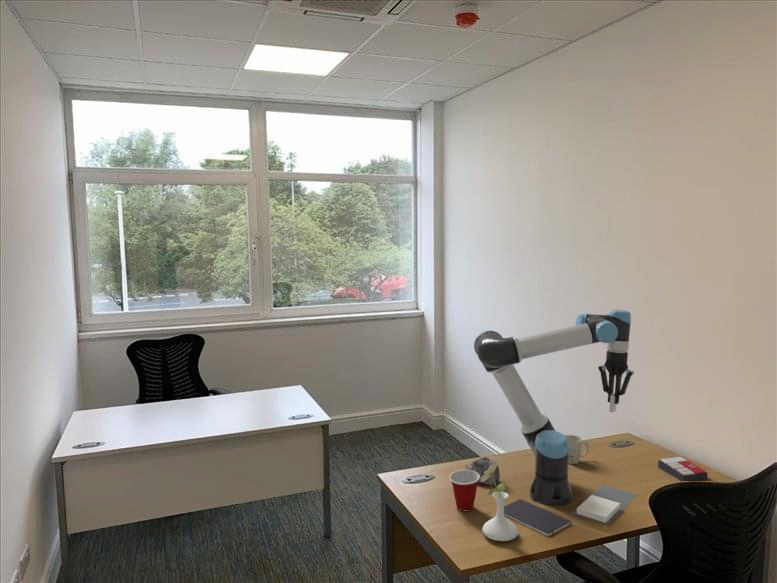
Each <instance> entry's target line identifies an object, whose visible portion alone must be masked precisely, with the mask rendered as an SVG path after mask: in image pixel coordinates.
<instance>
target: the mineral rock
mask: <svg viewBox="0 0 777 583" xmlns="http://www.w3.org/2000/svg"><path fill="white" fill-rule="evenodd" d="M494 462H495V464H496V463H497V462H496V461H495V460H491V459H490V458H489V457H485V456H484V457H480V458H479V459H477V460H474V461H471V463H470V464H467V465H465V467H464V470H471V471H475V472H477V473H478V474H479V475H480V478H481V477H482V476H483V475H485V474H484V472H485V471H487V470H488V468H489V466H490V465H493V464H494ZM492 475H493V478H494V480H495V483H496V485H497V483H498V482H500V480H501V476H500V467H499V465H498V464H497V467H496V469H495V471H494V472H493V474H492ZM480 478H479V481H478V483H481V484H485V485H488V484H489V486H494V485H495V483H494V480H493V478H492V476H490V477H489V478H488V479H487V480H486V481H484V482H480V481H481V479H480ZM498 484H499V483H498Z"/></svg>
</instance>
